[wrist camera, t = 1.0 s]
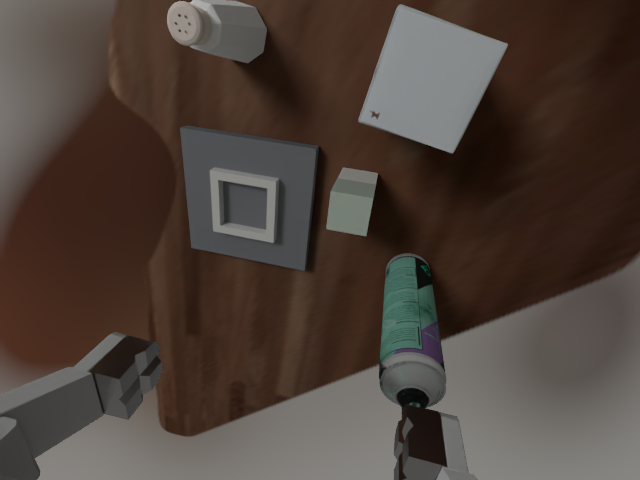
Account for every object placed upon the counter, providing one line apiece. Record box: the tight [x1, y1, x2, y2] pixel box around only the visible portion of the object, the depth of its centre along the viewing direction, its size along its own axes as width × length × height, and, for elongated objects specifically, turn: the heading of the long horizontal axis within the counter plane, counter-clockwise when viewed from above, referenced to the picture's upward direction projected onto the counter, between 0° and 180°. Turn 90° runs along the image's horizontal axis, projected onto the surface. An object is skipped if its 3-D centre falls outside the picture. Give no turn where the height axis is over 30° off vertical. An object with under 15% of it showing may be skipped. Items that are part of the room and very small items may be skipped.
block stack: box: [326, 168, 378, 236], centre depth 36 cm, size 4×4×8 cm
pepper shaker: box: [167, 0, 267, 63], centre depth 30 cm, size 5×5×11 cm
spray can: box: [379, 253, 446, 410], centre depth 35 cm, size 6×6×20 cm
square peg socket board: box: [180, 126, 319, 271], centre depth 42 cm, size 16×16×3 cm
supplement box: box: [358, 4, 508, 153], centre depth 28 cm, size 7×7×13 cm
